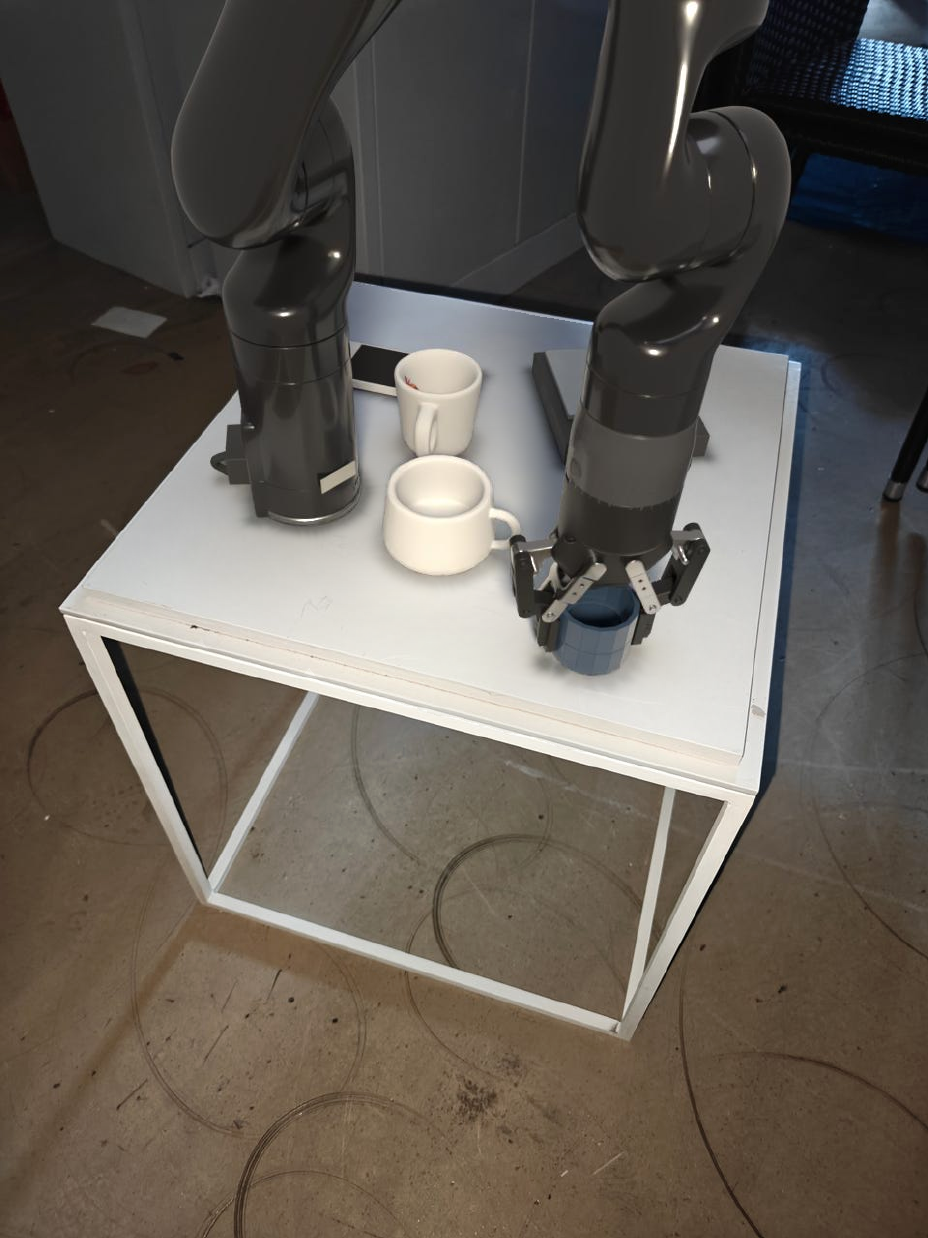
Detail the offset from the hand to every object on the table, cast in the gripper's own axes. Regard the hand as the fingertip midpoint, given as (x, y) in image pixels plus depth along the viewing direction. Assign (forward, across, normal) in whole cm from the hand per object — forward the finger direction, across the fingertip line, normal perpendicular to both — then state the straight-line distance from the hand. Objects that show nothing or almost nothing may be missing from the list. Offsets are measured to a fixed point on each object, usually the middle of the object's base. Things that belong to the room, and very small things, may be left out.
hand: (589, 639), depth 68 cm
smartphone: (+1, +11, -39) cm, 41 cm away
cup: (+1, +9, -26) cm, 28 cm away
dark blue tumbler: (+1, 0, 0) cm, 1 cm away
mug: (+1, +9, -13) cm, 16 cm away
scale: (+1, -10, -31) cm, 33 cm away
